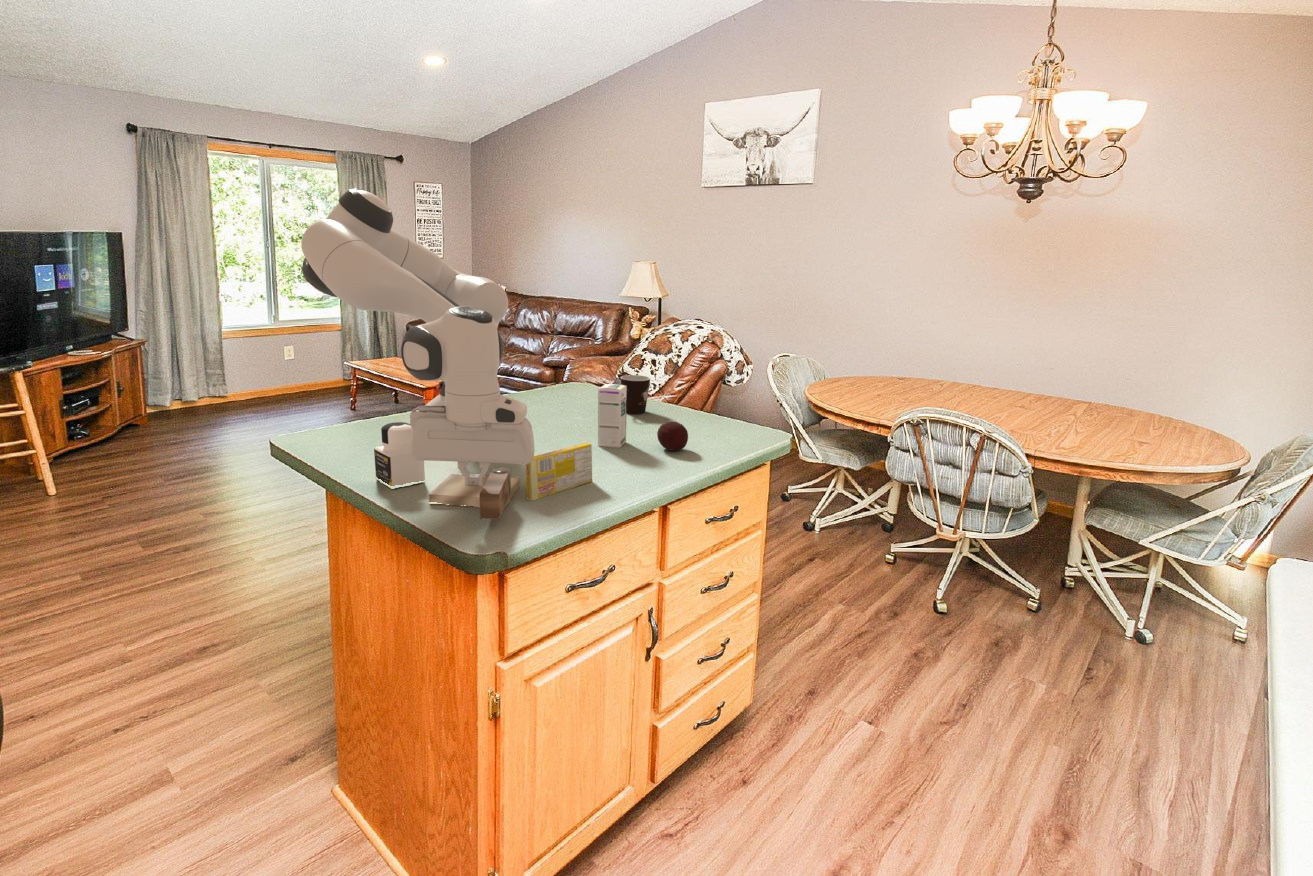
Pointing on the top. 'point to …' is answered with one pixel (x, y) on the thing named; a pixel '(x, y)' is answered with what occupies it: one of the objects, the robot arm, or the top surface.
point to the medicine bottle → (397, 456)
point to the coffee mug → (636, 393)
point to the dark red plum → (672, 436)
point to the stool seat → (463, 491)
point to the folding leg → (495, 493)
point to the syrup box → (612, 415)
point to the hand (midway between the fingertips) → (474, 485)
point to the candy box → (558, 471)
